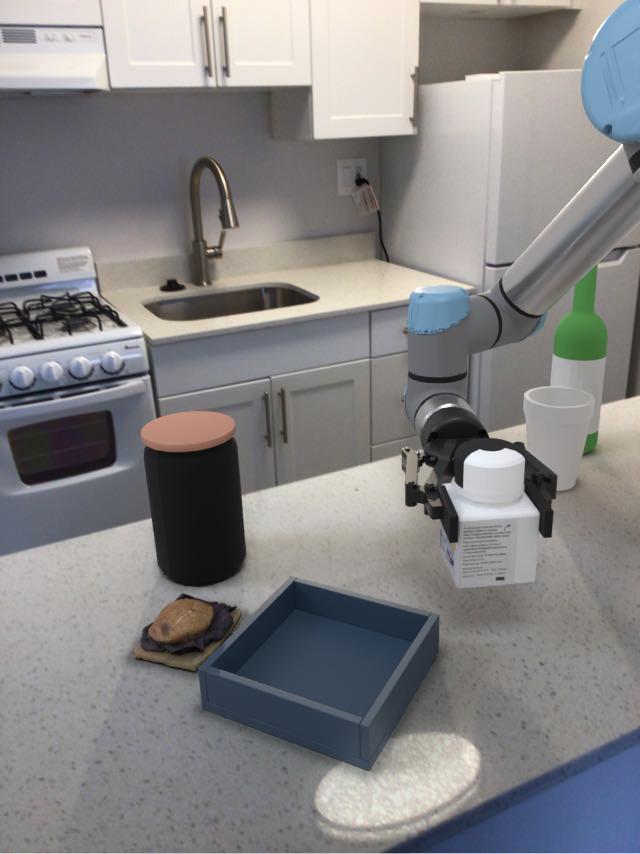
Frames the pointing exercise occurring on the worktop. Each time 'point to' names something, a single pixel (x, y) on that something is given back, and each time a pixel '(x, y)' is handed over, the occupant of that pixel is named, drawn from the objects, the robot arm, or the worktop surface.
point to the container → (491, 517)
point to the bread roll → (187, 632)
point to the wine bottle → (582, 350)
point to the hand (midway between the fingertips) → (501, 527)
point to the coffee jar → (195, 496)
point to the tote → (323, 669)
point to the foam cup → (558, 429)
